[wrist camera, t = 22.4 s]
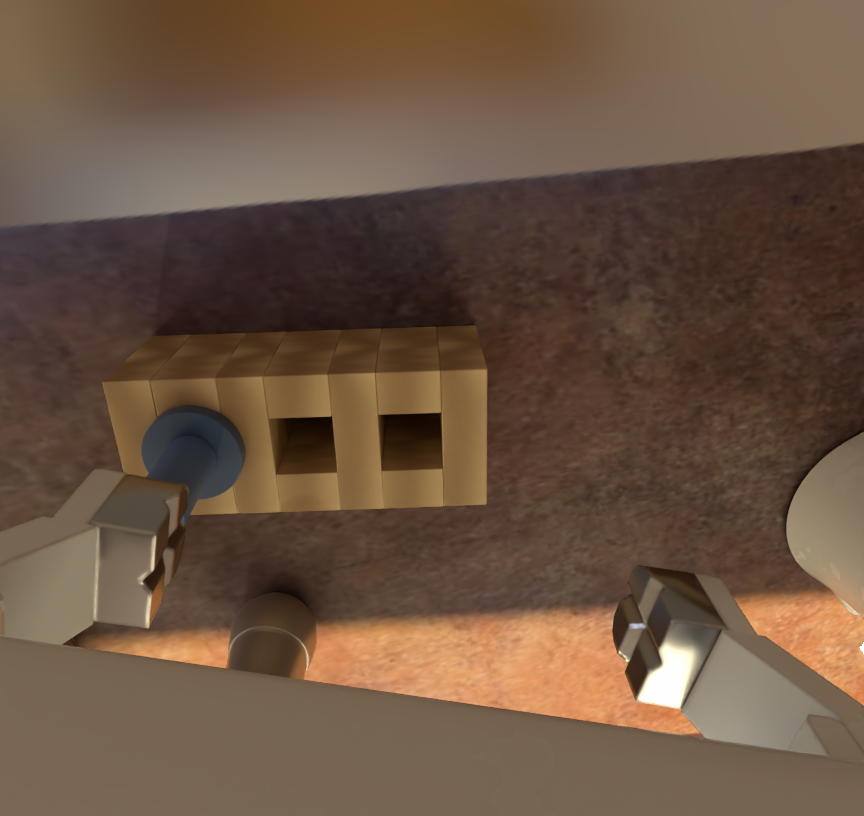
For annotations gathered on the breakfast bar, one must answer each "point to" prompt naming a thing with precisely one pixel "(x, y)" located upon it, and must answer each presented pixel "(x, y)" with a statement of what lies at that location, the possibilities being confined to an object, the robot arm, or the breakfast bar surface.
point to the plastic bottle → (273, 637)
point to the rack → (322, 414)
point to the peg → (194, 452)
